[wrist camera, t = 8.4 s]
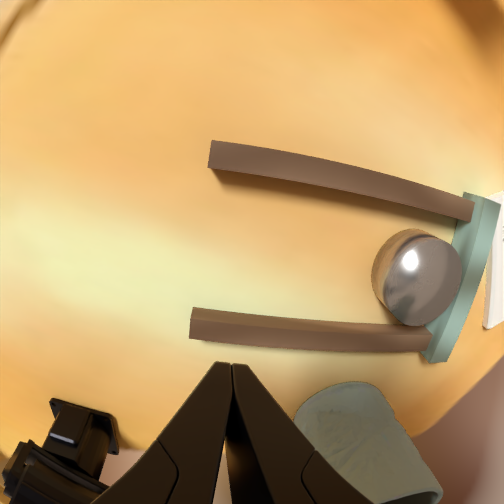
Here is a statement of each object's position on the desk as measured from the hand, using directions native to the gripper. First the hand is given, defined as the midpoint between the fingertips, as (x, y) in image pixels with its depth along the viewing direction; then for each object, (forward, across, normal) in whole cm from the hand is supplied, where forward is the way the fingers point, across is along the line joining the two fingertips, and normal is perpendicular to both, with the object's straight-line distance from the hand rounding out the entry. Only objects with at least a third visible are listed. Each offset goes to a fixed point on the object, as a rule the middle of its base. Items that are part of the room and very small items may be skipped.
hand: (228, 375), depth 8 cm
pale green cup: (+12, -11, +14) cm, 22 cm away
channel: (+12, -7, 0) cm, 14 cm away
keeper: (+12, -13, 0) cm, 18 cm away
